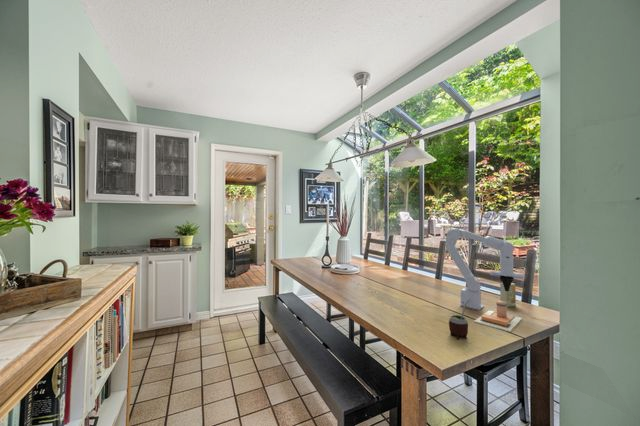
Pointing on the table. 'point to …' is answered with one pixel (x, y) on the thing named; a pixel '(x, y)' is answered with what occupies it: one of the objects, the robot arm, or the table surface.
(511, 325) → the picture board
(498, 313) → the cylinder
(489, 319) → the button
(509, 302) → the skincare box
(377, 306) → the table surface
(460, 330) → the mate gourd
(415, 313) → the table surface
